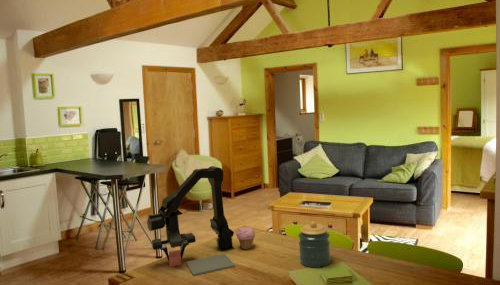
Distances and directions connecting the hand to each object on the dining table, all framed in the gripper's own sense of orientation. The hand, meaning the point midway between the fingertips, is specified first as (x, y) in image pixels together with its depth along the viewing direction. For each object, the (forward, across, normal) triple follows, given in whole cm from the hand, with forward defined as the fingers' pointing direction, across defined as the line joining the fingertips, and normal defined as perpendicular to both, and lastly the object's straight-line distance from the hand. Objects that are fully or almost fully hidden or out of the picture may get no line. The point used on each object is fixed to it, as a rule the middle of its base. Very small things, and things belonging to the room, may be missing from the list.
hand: (175, 259), depth 183 cm
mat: (+1, +13, -11) cm, 17 cm away
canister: (+1, +54, -30) cm, 62 cm away
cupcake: (+1, +34, 0) cm, 34 cm away
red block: (+1, 0, 0) cm, 1 cm away
